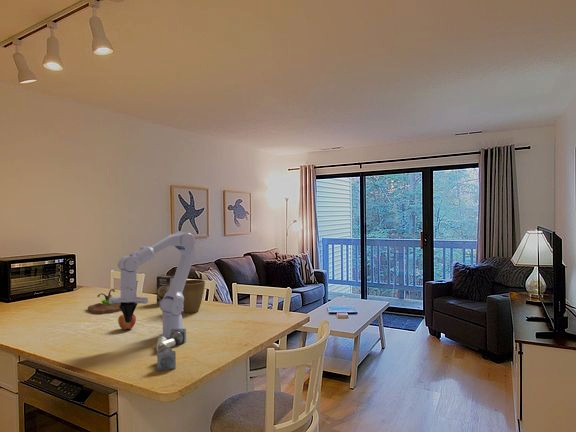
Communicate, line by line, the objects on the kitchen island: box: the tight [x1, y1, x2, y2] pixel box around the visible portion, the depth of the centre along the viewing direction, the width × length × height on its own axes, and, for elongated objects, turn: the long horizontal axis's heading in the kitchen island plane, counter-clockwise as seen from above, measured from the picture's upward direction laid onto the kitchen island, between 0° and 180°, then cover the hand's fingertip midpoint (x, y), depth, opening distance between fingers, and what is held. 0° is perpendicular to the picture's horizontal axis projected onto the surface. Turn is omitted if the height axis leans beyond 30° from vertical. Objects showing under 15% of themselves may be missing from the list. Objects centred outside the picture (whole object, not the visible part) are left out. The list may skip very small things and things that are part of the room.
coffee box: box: [156, 275, 175, 305], centre depth 218 cm, size 9×6×16 cm
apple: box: [117, 313, 137, 331], centre depth 167 cm, size 7×7×8 cm
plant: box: [87, 288, 122, 315], centre depth 206 cm, size 20×20×11 cm
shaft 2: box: [168, 328, 187, 346], centre depth 148 cm, size 4×6×5 cm
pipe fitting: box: [156, 336, 176, 353], centre depth 142 cm, size 8×4×7 cm
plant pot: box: [182, 279, 206, 314], centre depth 200 cm, size 15×15×16 cm
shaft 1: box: [156, 346, 177, 372], centre depth 126 cm, size 8×6×5 cm
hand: (128, 321), depth 145 cm, fingers closed
